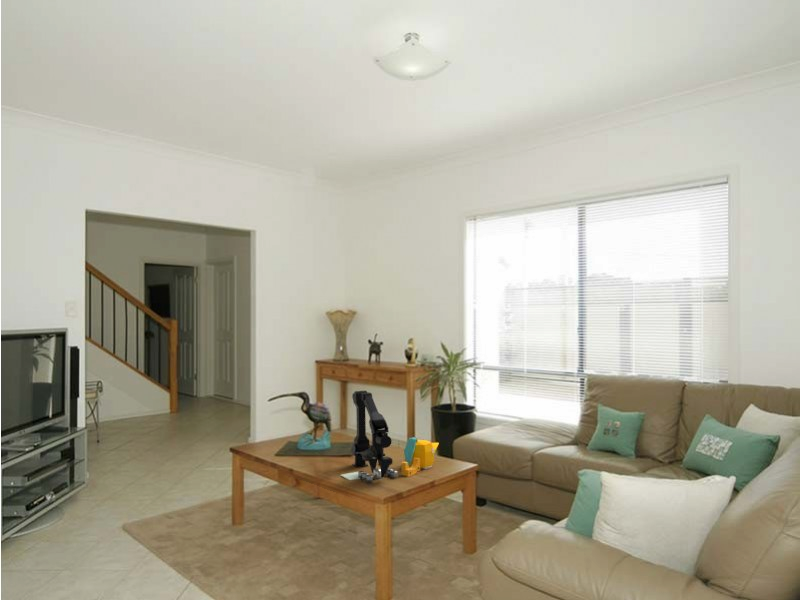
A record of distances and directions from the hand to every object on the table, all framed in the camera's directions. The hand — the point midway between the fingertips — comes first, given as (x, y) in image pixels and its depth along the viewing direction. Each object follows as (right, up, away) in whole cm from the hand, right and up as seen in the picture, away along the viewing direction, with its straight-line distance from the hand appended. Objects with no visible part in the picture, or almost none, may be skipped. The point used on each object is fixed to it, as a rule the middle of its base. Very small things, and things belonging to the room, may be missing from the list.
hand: (377, 475), depth 276 cm
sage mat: (-12, -1, +2) cm, 12 cm away
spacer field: (0, -1, 0) cm, 1 cm away
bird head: (+23, -2, +22) cm, 32 cm away
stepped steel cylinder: (0, -1, 0) cm, 1 cm away
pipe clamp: (+17, -2, +8) cm, 19 cm away
